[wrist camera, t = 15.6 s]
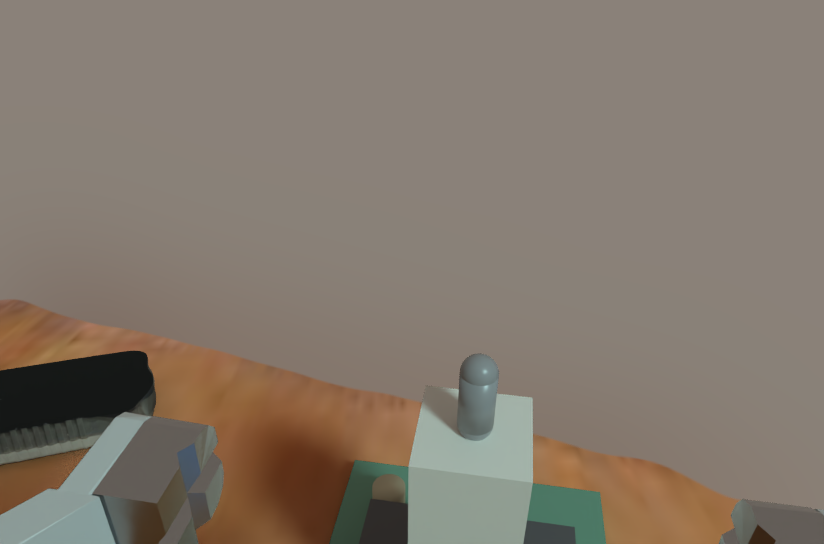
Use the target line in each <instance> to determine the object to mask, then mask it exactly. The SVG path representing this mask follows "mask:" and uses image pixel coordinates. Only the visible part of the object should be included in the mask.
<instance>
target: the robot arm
mask: <svg viewBox="0 0 824 544" xmlns="http://www.w3.org/2000/svg"><path fill="white" fill-rule="evenodd" d="M217 443H218V440H217V435H216V431H215V427H212V426H209V425H203V424H197V423H191V422H185V421H179V420H173V419H167V418H161V417H155V416H147V415H141V414H134V413H128V412H124V413H122V414H120V415H119V416H117V417H115V418H114V419H113V421H112V422H111V423H110V424H109V426H108V427H107V428H106V429H105V431H104V432H103V433H102V435H101V436H100V437H99V438H98V440H97V441H96V442H95V443H94V445H93V446H92V447H91V448H90V450H89V451H88V452H87V453H86V455H85V456H84V457H83V458H82V460H81V461H80V462H79V463H78V465H77V466H76V467H75V469H74V470H73V471H72V472H71V474H70V475H69V476H68V477H67V479H66V480H65V481H64V482H63V484H62V485H61V486H60V487H59V489H58V490H57V489H47V490H45V491H44V492H42V493H40V494H38V495H36V496H34V497H33V498H31V499H29V500H27V501H25V502H23V503H22V504H20V505H18V506H16V507H14V508H13V509H11V510H9V511H7V512H5V513H3V514H2V515H0V544H198V539H197V535H196V529H197V528H199V527H200V526H202V525H203V524H204V523H206V522H207V521H209V520H210V519H211V518H212V515H213V513H214V511H215V509H216V507H217V505H218V503H219V499H220V495H221V491H222V488H223V475H224V471H223V466H222V461H221V460H220V459H219V458H218V457H217V456H216V455H215V454H214V453H213V450H214V449H215V447H216V445H217ZM731 518H732V521H733V524H734V527H735V528H734V529H732V530H730V531H728V532H726V533H724V534H723V535H722V536H721V539H720V542H719V544H824V510H820V509H812V508H808V507H800V506H792V505H784V504H777V503H769V502H761V501H754V500H746V499H742V500H740V501H739V502H738V503H737V504H736V505H735V507H734V509H733V511H732V514H731Z"/></svg>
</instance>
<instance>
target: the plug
mask: <svg viewBox="0 0 824 544" xmlns="http://www.w3.org/2000/svg"><path fill="white" fill-rule="evenodd" d="M498 378H499V370H498V367H497V364H496V363H495V361H494V360H493V359H492V358H491V357H489V356H487V355H484V354H473V355H471V356H469V357H467V358H466V359H465V360H464V362H463V363H462V365H461V368H460V379H459V389H452V388H443V387H433V386H426V388H425V392H424V397H423V401H422V406H421V411H420V415H419V420H418V425H417V429H416V434H415V439H414V443H413V448H412V453H411V457H410V462H409V472H408V544H523V542H524V536H525V530H526V523H527V517H528V510H529V504H530V498H531V491H532V485H533V398H530V397H520V396H513V395H504V394H497V388H498Z"/></svg>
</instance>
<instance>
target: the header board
mask: <svg viewBox="0 0 824 544" xmlns="http://www.w3.org/2000/svg"><path fill="white" fill-rule="evenodd" d="M408 472H409V467H404V466H397V465H389V464H381V463H374V462H366V461H359V460H355V462H354V465H353V468H352V472H351V475H350V478H349V481H348V485H347V488H346V491H345V494H344V498H343V501H342V504H341V507H340V510H339V514H338V517H337V520H336V523H335V527H334V530H333V533H332V536H331V539H330V543H329V544H408ZM523 544H606V540H605V531H604V523H603V514H602V506H601V497H600V492H594V491H587V490H579V489H572V488H564V487H556V486H549V485H541V484H534V483H533V485H532V491H531V498H530V504H529V510H528V517H527V523H526V530H525V536H524V542H523Z"/></svg>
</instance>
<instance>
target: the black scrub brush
mask: <svg viewBox="0 0 824 544" xmlns="http://www.w3.org/2000/svg"><path fill="white" fill-rule="evenodd" d="M155 405H156V393H155V388H154V377H153V374H152V371H151V370H150V368H149V366H148V357H147V355H146V353H144V352H141V351H126V352H119V353H112V354H105V355H98V356H91V357H85V358H78V359H72V360H65V361H59V362H53V363H46V364H40V365H33V366H27V367H20V368H14V369H7V370H1V371H0V465H3V464H8V463H14V462H19V461H24V460H29V459H34V458H39V457H44V456H49V455H55V454H59V453H65V452H69V451H76V450H80V449H86V448H89V447H92V446H93V445H94V443H95V442H96V441H97V440H98V438H99V437H100V436H101V435H102V433H103V432H104V431H105V429H106V428H107V427H108V426H109V424H110V423H111V422H112V421H113V419H114V418H115V417H117V416H119V415H120V414H122V413H124V412H128V413H134V414H141V415H147V416H153V412H154V408H155Z"/></svg>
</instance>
